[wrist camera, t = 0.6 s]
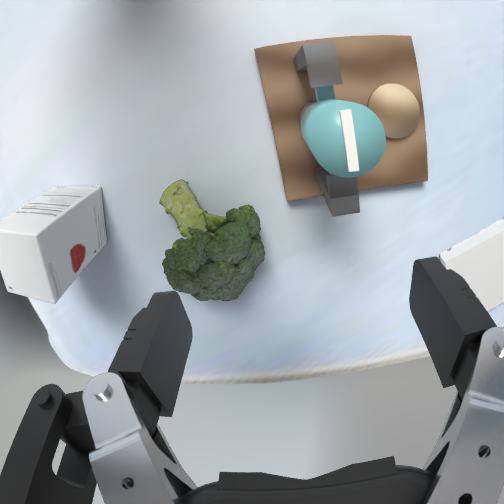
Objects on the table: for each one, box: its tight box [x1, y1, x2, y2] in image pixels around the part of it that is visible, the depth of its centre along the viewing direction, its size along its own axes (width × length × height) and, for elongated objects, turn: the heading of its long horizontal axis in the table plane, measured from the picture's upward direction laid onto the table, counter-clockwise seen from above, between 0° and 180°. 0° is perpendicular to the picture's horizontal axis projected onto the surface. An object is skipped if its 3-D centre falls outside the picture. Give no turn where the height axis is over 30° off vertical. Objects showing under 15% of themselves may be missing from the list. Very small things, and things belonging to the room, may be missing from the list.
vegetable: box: [159, 180, 265, 301], centre depth 36 cm, size 12×13×15 cm
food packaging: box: [440, 219, 504, 311], centre depth 39 cm, size 15×3×20 cm
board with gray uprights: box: [254, 35, 428, 216], centre depth 26 cm, size 18×18×12 cm
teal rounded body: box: [301, 85, 386, 178], centre depth 21 cm, size 9×5×7 cm, turn 12°
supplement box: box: [0, 186, 107, 304], centre depth 34 cm, size 9×9×15 cm
